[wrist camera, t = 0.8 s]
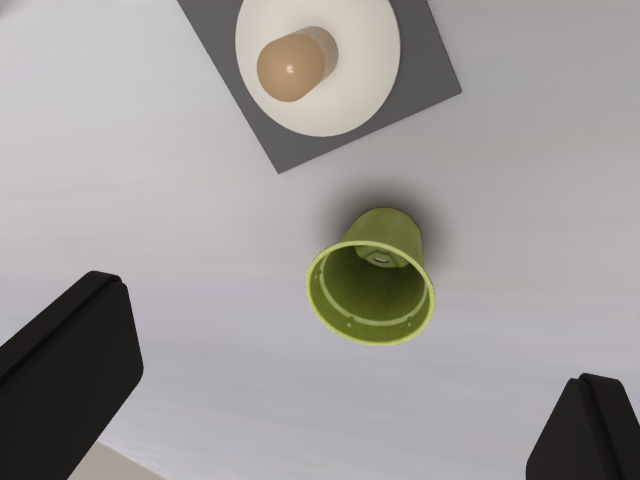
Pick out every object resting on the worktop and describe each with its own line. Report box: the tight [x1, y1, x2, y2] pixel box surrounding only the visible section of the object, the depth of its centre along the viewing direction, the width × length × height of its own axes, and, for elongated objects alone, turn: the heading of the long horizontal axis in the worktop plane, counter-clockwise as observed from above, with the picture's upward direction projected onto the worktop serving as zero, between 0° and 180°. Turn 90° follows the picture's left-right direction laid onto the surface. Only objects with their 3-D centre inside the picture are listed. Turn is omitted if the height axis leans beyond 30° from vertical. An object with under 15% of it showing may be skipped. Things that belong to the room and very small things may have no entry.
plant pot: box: [305, 207, 435, 346], centre depth 36 cm, size 9×9×9 cm
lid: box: [235, 0, 401, 137], centre depth 30 cm, size 12×12×7 cm
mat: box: [177, 0, 462, 174], centre depth 33 cm, size 16×16×1 cm
